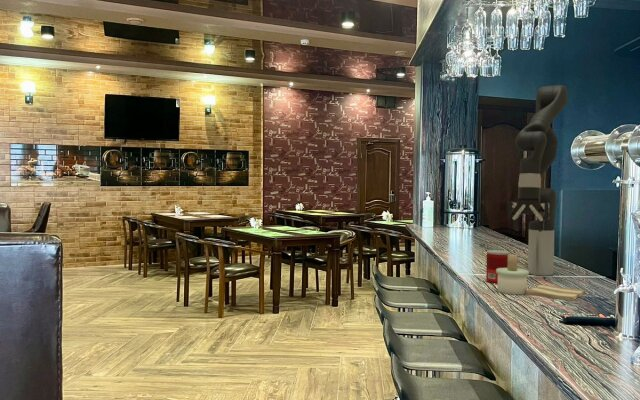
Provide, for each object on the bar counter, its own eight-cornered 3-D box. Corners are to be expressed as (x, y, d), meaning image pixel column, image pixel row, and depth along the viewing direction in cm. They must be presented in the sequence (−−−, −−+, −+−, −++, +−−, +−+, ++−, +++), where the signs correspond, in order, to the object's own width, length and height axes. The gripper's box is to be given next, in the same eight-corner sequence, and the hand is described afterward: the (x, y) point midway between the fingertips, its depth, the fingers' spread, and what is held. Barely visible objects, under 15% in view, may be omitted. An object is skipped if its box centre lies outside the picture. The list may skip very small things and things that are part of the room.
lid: (503, 269, 187) (503, 252, 187) (533, 273, 181) (533, 254, 181) (491, 273, 180) (491, 255, 179) (522, 277, 173) (522, 258, 173)
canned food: (511, 284, 192) (511, 253, 192) (487, 283, 194) (487, 252, 193) (508, 280, 200) (508, 250, 199) (485, 279, 201) (485, 249, 201)
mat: (540, 287, 187) (540, 284, 187) (585, 293, 178) (585, 290, 178) (526, 294, 177) (526, 291, 176) (572, 300, 168) (572, 297, 168)
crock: (503, 287, 187) (504, 270, 187) (530, 291, 181) (531, 273, 181) (493, 291, 180) (493, 273, 180) (520, 295, 174) (521, 276, 174)
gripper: (552, 187, 200) (551, 231, 200) (512, 186, 208) (510, 229, 208) (547, 186, 193) (546, 232, 193) (506, 185, 202) (505, 230, 202)
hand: (528, 230), depth 201 cm, fingers open, 8 cm apart
